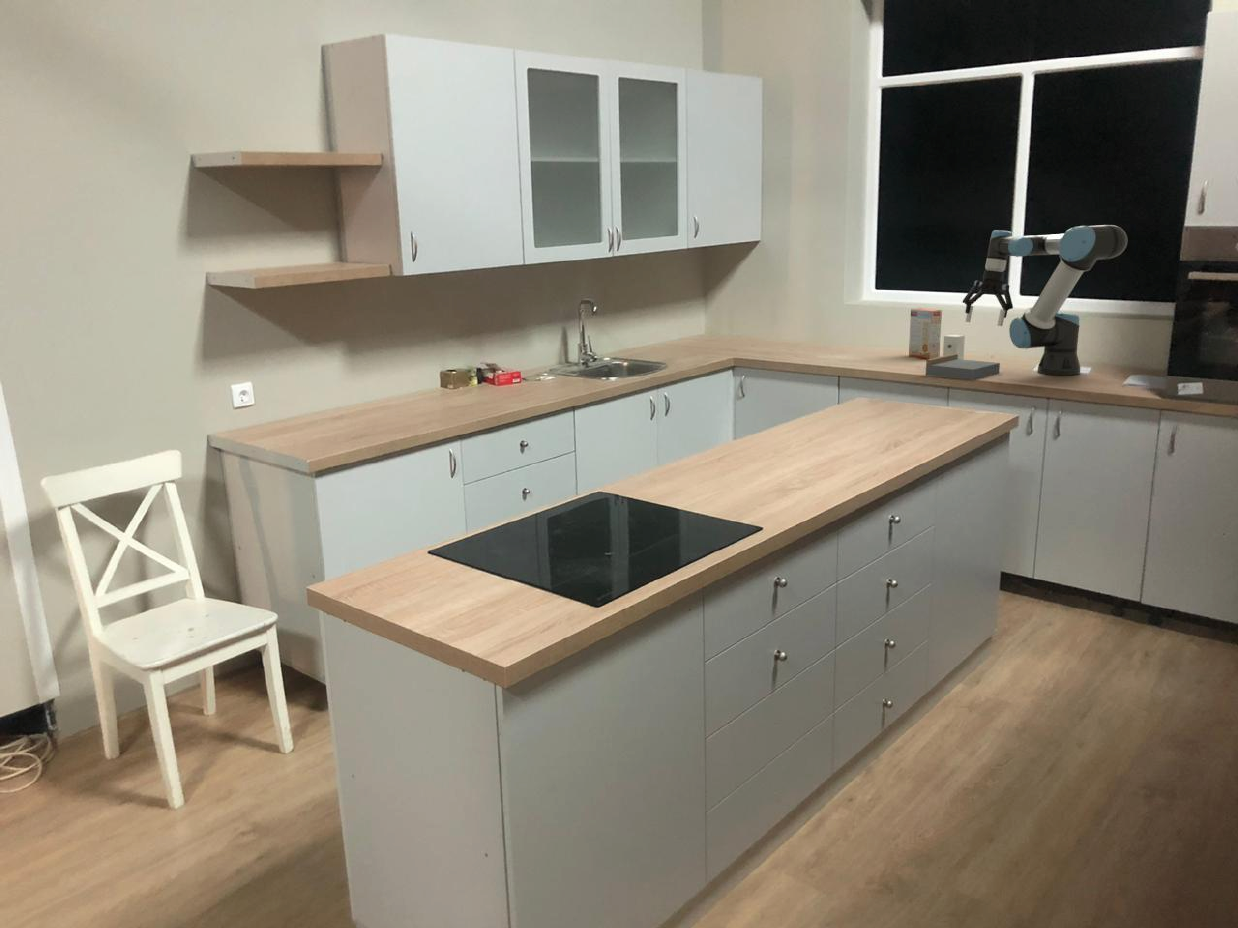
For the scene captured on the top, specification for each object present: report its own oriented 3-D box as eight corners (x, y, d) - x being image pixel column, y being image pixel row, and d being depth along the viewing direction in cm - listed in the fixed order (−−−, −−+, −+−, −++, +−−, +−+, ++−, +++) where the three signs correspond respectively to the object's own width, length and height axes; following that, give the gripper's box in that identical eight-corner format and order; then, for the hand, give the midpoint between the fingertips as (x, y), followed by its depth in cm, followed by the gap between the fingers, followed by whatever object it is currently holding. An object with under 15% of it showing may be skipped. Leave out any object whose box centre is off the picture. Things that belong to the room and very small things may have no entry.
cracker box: (940, 358, 423) (942, 310, 418) (929, 359, 421) (931, 310, 416) (919, 354, 436) (921, 307, 431) (908, 355, 434) (910, 308, 429)
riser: (999, 373, 383) (1000, 357, 382) (973, 380, 370) (974, 364, 369) (952, 368, 398) (953, 353, 396) (925, 374, 385) (926, 359, 383)
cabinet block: (963, 364, 407) (964, 335, 404) (954, 366, 402) (955, 337, 399) (950, 363, 411) (951, 334, 408) (941, 365, 407) (942, 336, 404)
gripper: (1019, 274, 393) (1008, 326, 398) (960, 266, 391) (950, 319, 395) (1028, 274, 386) (1017, 328, 391) (968, 267, 383) (958, 321, 388)
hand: (983, 324), depth 393 cm, fingers open, 13 cm apart
